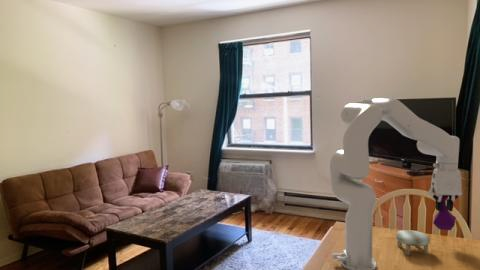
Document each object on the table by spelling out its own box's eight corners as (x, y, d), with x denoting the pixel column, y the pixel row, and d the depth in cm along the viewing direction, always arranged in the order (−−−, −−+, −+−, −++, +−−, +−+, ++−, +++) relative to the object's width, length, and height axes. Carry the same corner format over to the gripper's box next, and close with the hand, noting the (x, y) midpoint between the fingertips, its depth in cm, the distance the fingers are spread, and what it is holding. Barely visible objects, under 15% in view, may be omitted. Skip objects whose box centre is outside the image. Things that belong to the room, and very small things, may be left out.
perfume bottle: (436, 223, 146) (431, 182, 144) (456, 224, 142) (452, 183, 140) (433, 230, 140) (429, 188, 138) (455, 232, 136) (450, 189, 134)
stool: (404, 257, 132) (404, 243, 132) (390, 244, 144) (391, 230, 143) (435, 256, 132) (436, 242, 131) (419, 243, 144) (419, 229, 143)
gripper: (431, 168, 134) (428, 213, 136) (473, 168, 134) (470, 213, 136) (421, 164, 142) (418, 207, 144) (461, 164, 142) (458, 207, 144)
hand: (443, 210), depth 140 cm, fingers closed on perfume bottle, 3 cm apart
